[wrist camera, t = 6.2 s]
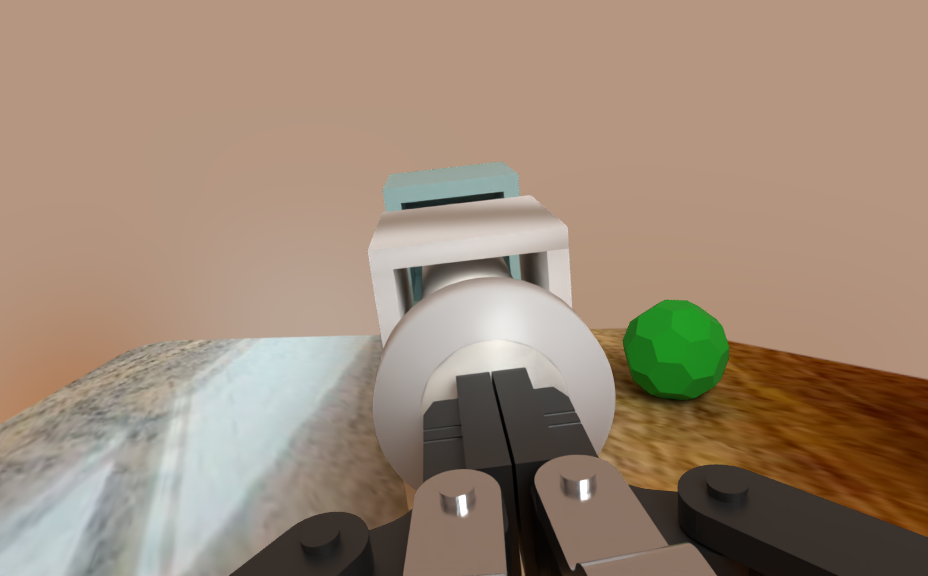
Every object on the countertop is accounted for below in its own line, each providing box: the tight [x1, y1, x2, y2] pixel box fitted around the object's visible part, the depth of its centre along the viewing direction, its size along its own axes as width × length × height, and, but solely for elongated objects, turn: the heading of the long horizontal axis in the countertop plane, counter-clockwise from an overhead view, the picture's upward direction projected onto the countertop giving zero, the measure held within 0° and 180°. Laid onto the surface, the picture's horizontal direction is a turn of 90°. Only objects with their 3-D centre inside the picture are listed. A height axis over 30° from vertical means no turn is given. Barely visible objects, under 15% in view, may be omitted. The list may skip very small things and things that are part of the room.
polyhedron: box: [623, 300, 729, 400], centre depth 30 cm, size 5×5×5 cm
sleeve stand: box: [368, 195, 572, 576], centre depth 21 cm, size 6×5×12 cm
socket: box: [383, 162, 521, 306], centre depth 31 cm, size 6×6×12 cm
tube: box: [372, 203, 615, 491], centre depth 22 cm, size 18×5×5 cm, turn 3°
